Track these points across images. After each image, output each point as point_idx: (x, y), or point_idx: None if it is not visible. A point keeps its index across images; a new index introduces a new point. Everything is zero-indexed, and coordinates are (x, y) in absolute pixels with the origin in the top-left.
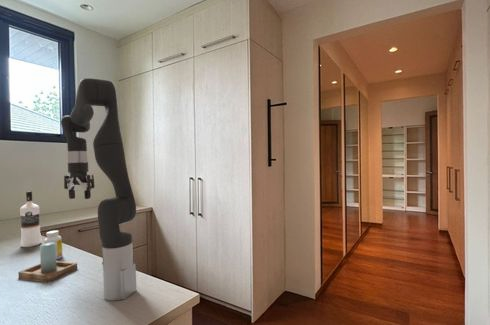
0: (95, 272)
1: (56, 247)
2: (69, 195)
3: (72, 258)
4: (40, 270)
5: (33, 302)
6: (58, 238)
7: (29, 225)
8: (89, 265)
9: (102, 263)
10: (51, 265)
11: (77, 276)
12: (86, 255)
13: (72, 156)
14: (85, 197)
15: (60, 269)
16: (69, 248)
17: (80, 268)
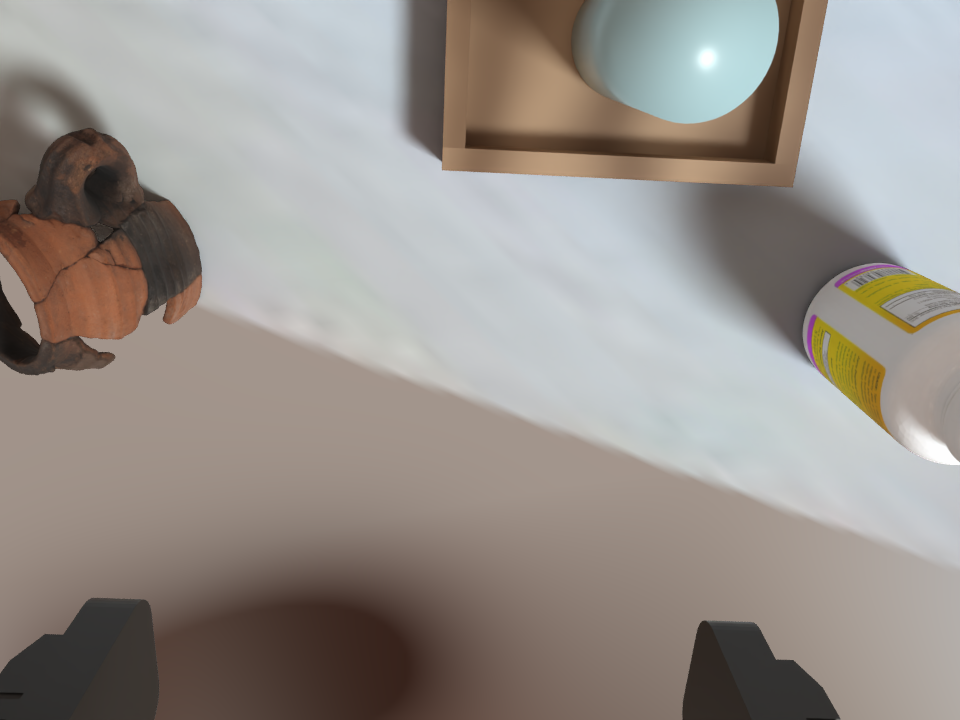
0: (218, 127)
1: (858, 339)
2: (777, 688)
3: (685, 348)
4: None
5: None
6: (896, 397)
7: None
8: (397, 243)
9: (106, 135)
10: (585, 16)
11: (306, 29)
12: (609, 421)
13: None
14: (89, 618)
15: (547, 85)
16: (905, 531)
17: (425, 176)
